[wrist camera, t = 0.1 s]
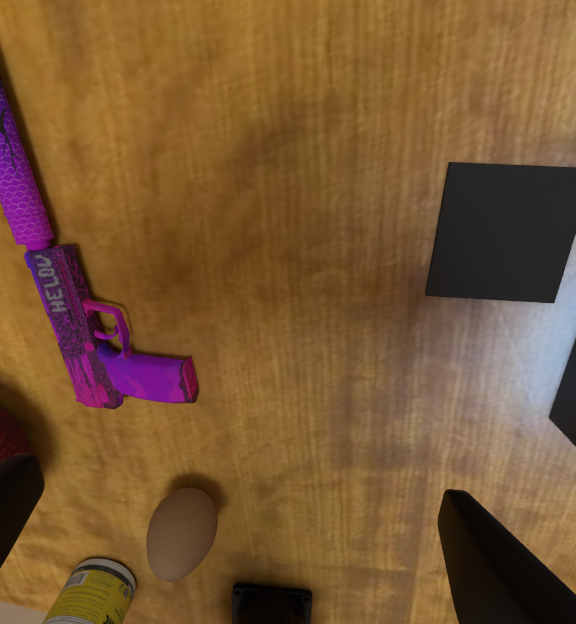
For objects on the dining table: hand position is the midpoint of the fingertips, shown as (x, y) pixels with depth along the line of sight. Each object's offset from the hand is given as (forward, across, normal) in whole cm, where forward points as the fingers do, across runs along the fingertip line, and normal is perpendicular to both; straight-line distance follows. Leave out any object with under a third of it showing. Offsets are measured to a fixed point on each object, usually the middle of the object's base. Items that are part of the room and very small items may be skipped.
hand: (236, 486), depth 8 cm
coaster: (+15, -12, -4) cm, 19 cm away
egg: (+15, +6, +16) cm, 23 cm away
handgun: (+14, +4, +1) cm, 15 cm away
